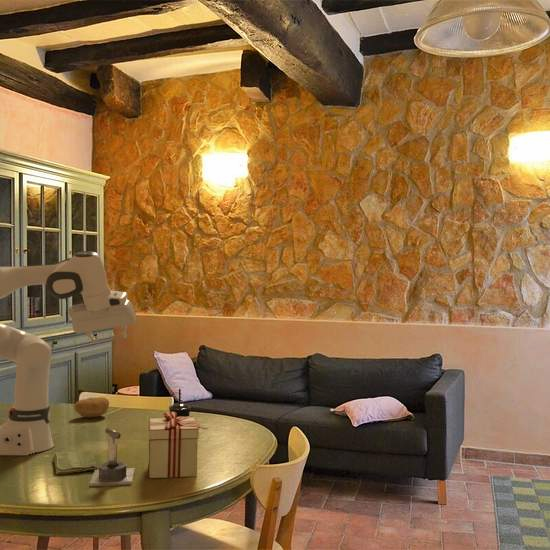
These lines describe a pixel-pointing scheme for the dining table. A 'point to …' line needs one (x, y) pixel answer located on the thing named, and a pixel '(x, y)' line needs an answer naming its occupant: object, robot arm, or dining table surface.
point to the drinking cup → (180, 408)
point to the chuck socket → (112, 475)
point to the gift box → (173, 446)
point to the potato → (92, 407)
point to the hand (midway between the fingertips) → (109, 340)
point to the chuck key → (112, 446)
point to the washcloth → (74, 461)
